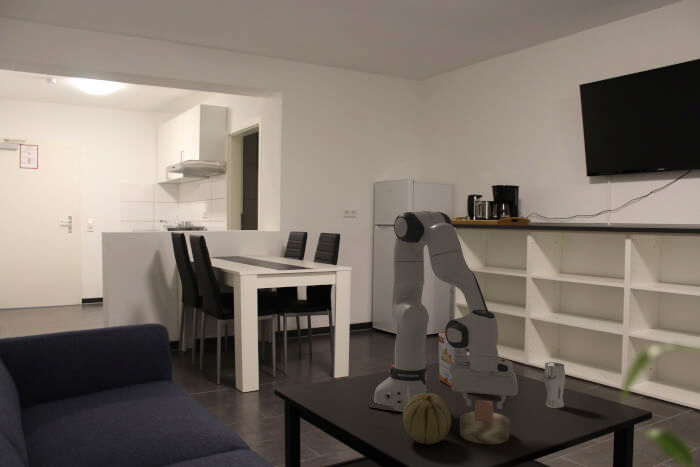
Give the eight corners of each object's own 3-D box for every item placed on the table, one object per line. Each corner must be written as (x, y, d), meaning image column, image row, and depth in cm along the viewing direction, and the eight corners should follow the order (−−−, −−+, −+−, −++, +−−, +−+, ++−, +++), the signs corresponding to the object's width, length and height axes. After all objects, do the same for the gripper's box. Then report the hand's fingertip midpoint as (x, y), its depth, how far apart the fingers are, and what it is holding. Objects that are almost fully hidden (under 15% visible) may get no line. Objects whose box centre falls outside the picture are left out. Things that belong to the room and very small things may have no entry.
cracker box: (438, 381, 236) (438, 332, 236) (451, 380, 237) (450, 331, 237) (454, 390, 222) (453, 338, 222) (467, 389, 224) (467, 337, 224)
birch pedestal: (456, 441, 168) (456, 424, 168) (462, 424, 183) (462, 409, 183) (508, 446, 164) (508, 429, 164) (510, 429, 178) (510, 413, 178)
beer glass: (552, 409, 197) (552, 367, 197) (540, 403, 204) (540, 362, 204) (569, 407, 199) (569, 365, 199) (557, 402, 206) (556, 361, 206)
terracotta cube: (475, 420, 172) (474, 404, 172) (476, 415, 176) (476, 399, 176) (491, 422, 170) (491, 405, 170) (492, 417, 175) (492, 401, 175)
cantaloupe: (432, 430, 178) (431, 383, 178) (462, 445, 165) (461, 395, 165) (393, 439, 171) (392, 390, 171) (421, 455, 158) (420, 402, 158)
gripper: (448, 363, 173) (448, 407, 173) (517, 367, 167) (517, 413, 167) (451, 358, 179) (451, 401, 179) (517, 362, 173) (518, 407, 173)
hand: (484, 407), depth 173 cm, fingers open, 8 cm apart
